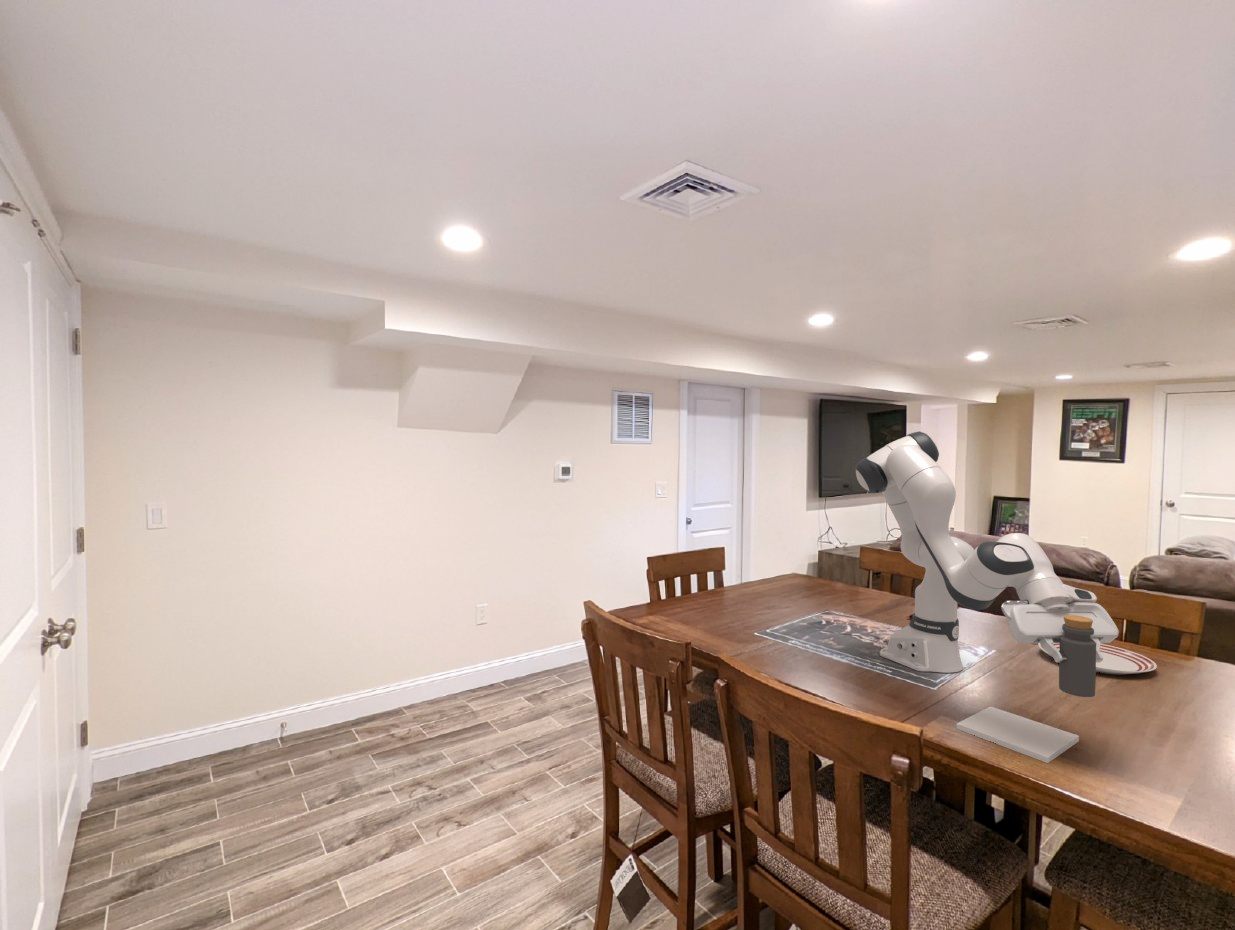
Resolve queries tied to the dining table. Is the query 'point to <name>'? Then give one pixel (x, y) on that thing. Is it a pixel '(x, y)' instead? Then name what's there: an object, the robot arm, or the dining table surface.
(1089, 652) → the bottle
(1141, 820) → the dining table surface
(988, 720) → the grey board
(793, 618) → the dining table surface
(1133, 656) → the dinner plate
